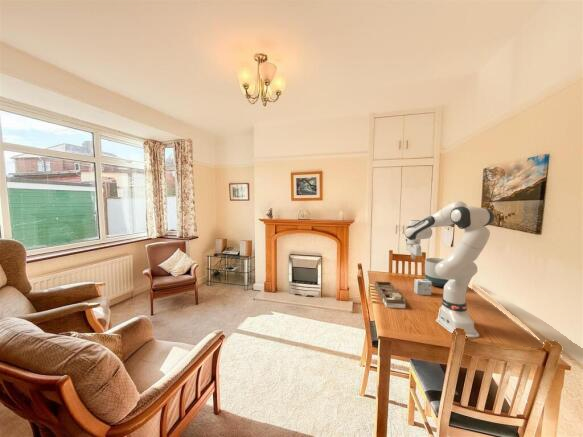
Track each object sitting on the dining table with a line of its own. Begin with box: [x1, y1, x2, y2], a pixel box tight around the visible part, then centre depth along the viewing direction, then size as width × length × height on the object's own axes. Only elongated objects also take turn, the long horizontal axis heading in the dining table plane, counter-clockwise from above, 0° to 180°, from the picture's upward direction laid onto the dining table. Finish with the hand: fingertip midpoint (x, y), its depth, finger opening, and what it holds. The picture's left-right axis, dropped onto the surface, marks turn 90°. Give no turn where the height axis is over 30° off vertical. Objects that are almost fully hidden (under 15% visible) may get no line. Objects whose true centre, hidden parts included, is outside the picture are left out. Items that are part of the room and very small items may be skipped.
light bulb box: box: [413, 278, 433, 296], centre depth 184 cm, size 11×7×11 cm, turn 84°
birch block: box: [392, 293, 402, 300], centre depth 166 cm, size 5×4×4 cm
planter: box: [424, 257, 449, 288], centre depth 200 cm, size 20×20×21 cm
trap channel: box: [374, 280, 406, 309], centre depth 178 cm, size 35×12×6 cm, turn 173°
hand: (413, 258), depth 178 cm, fingers closed
